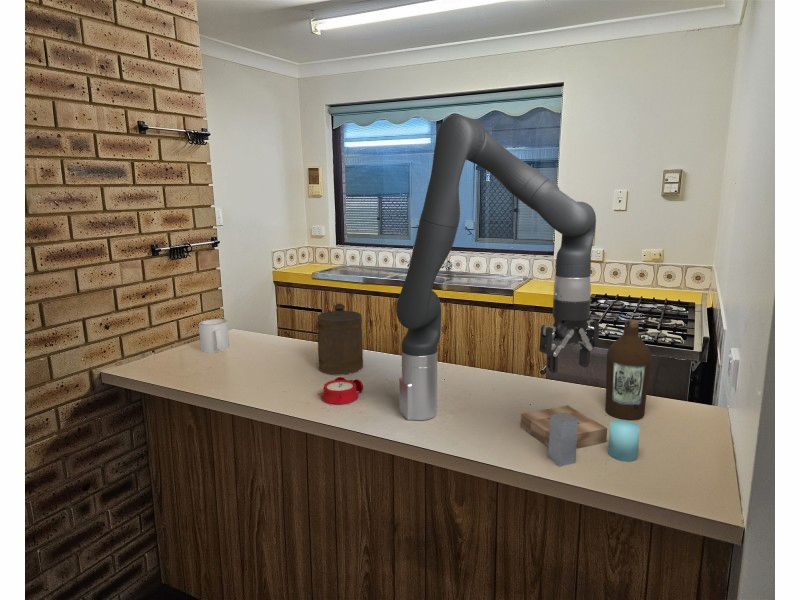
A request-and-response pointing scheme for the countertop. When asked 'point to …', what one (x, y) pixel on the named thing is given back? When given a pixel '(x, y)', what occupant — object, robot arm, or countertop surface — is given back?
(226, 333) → the mug
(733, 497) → the countertop surface
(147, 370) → the countertop surface
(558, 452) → the square peg
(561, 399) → the countertop surface
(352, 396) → the alarm clock
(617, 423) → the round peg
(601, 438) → the socket block
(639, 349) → the brown bottle
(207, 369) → the countertop surface
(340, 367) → the wooden container
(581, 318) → the robot arm
